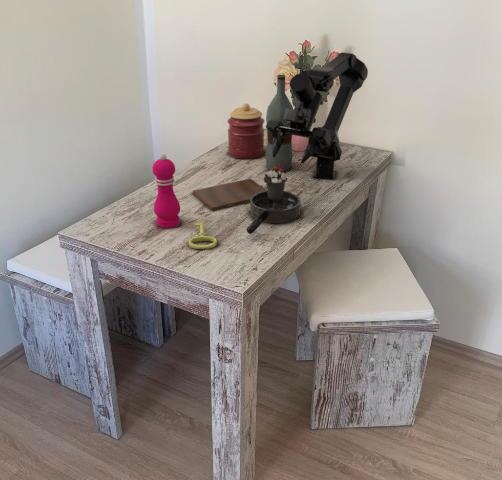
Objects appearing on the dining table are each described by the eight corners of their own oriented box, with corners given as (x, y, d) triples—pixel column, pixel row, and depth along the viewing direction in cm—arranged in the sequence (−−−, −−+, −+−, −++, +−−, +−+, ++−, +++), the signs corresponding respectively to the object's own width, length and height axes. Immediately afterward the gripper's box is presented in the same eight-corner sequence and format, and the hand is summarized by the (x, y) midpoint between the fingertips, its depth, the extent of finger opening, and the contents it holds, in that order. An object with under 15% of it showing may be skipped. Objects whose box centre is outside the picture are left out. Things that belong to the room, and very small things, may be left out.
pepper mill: (176, 230, 157) (171, 159, 146) (151, 227, 158) (144, 157, 147) (184, 218, 163) (179, 150, 152) (159, 216, 164) (153, 148, 153)
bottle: (271, 160, 201) (273, 71, 185) (296, 164, 198) (300, 73, 182) (260, 169, 194) (262, 77, 178) (286, 173, 191) (289, 80, 175)
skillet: (256, 200, 173) (256, 188, 171) (303, 205, 170) (303, 192, 168) (245, 221, 161) (245, 208, 159) (295, 226, 158) (296, 213, 156)
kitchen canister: (237, 145, 215) (237, 97, 206) (269, 150, 211) (270, 101, 201) (221, 156, 205) (220, 106, 196) (255, 161, 201) (255, 110, 191)
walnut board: (250, 181, 185) (250, 178, 185) (272, 197, 175) (272, 194, 174) (192, 193, 178) (192, 190, 177) (212, 210, 167) (212, 207, 167)
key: (203, 226, 158) (202, 219, 157) (219, 247, 148) (219, 239, 147) (178, 231, 156) (177, 224, 155) (193, 252, 146) (192, 245, 145)
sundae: (289, 208, 167) (291, 159, 159) (282, 218, 162) (284, 167, 154) (267, 205, 169) (268, 156, 161) (260, 215, 163) (261, 164, 156)
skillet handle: (262, 215, 159) (262, 209, 158) (269, 217, 159) (269, 210, 158) (245, 234, 150) (245, 227, 149) (252, 235, 149) (252, 228, 148)
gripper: (268, 91, 163) (248, 141, 161) (329, 100, 154) (308, 153, 153) (282, 111, 173) (263, 158, 171) (339, 120, 164) (320, 170, 162)
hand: (287, 159), depth 164 cm, fingers open, 9 cm apart
